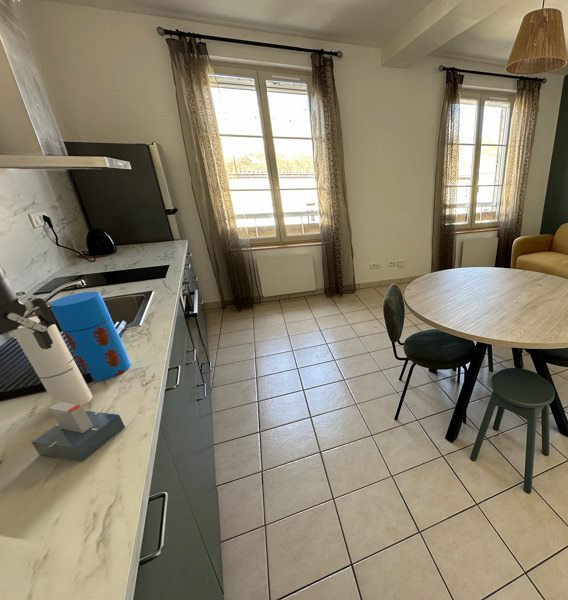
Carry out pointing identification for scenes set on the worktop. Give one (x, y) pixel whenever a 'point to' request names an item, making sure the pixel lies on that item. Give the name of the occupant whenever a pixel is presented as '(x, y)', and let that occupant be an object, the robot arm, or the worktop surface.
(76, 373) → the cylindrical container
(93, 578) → the worktop surface
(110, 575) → the worktop surface
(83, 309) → the thermos
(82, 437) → the block
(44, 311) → the robot arm
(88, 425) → the tap handle
